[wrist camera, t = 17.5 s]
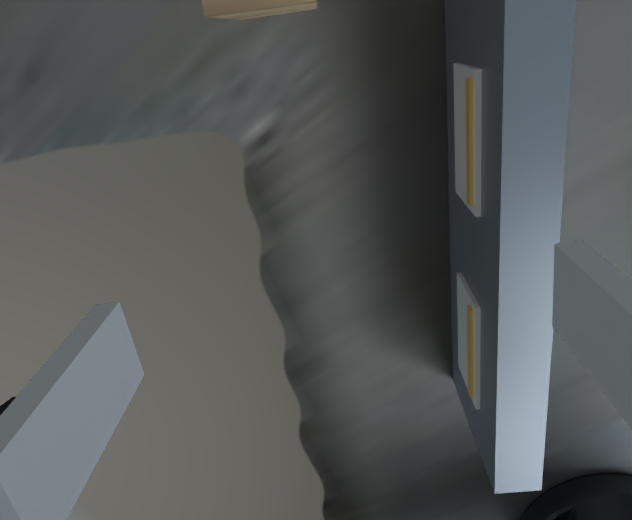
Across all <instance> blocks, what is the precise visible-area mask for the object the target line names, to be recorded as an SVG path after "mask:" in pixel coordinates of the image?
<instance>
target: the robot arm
mask: <svg viewBox="0 0 632 520" xmlns="http://www.w3.org/2000/svg"><path fill="white" fill-rule="evenodd" d="M552 326H553V328H554V329H555V330H556V331H557V333H558V334H559V335H560V337H561V338H562V339H563V340H564V342H565V343H566V344H567V346H568V347H569V348H570V350H571V351H572V352H573V353H574V355H575V356H576V357H577V359H578V360H579V361H580V362H581V364H582V365H583V366H584V368H585V369H586V370H587V371H588V373H589V374H590V375H591V377H592V378H593V379H594V380H595V382H596V383H597V384H598V386H599V387H600V388H601V389H602V391H603V392H604V393H605V395H606V396H607V397H608V398H609V400H610V401H611V402H612V404H613V405H614V406H615V407H616V409H617V410H618V411H619V413H620V414H621V415H622V416H623V418H624V419H625V420H626V422H627V423H628V424H629V426H630V427H631V428H632V280H630V279H629V278H628V277H627V276H625V275H624V274H623V273H622V272H621V271H619V270H618V269H617V268H616V267H614V266H613V265H612V264H611V263H609V262H608V261H607V260H606V259H604V258H603V257H602V256H601V255H599V254H598V253H597V252H596V251H594V250H593V249H592V248H591V247H589V246H588V245H587V244H586V243H584V242H583V241H582V240H580V241H573V242H565V243H558V244H554V277H553V313H552ZM143 377H144V372H143V369H142V366H141V363H140V360H139V357H138V354H137V352H136V349H135V346H134V343H133V340H132V337H131V334H130V331H129V329H128V325H127V323H126V320H125V317H124V314H123V311H122V308H121V305H120V302H114V303H106V304H98V305H95V306H94V307H93V309H92V310H91V311H90V312H89V313H88V314H87V316H86V317H85V318H84V319H83V320H82V321H81V323H80V324H79V325H78V326H77V327H76V328H75V329H74V331H73V332H72V333H71V334H70V335H69V336H68V338H67V339H66V340H65V341H64V342H63V343H62V345H61V346H60V347H59V348H58V349H57V350H56V352H55V353H54V354H53V355H52V356H51V357H50V359H49V360H48V361H47V362H46V363H45V364H44V365H43V367H42V368H41V369H40V370H39V371H38V372H37V374H36V375H35V376H34V377H33V378H32V379H31V381H30V382H29V383H28V384H27V385H26V386H25V388H24V389H23V390H22V391H21V392H20V393H19V395H18V396H17V397H12V398H11V399H10V400H8V401H7V402H5V403H4V404H3V405H1V406H0V520H67V518H68V516H69V514H70V512H71V511H72V509H73V507H74V505H75V503H76V501H77V500H78V498H79V496H80V494H81V492H82V490H83V488H84V486H85V484H86V483H87V481H88V479H89V477H90V475H91V474H92V471H93V470H94V468H95V466H96V464H97V462H98V460H99V459H100V457H101V455H102V453H103V451H104V449H105V448H106V446H107V444H108V442H109V440H110V438H111V436H112V435H113V433H114V431H115V429H116V427H117V425H118V423H119V422H120V420H121V418H122V416H123V414H124V412H125V410H126V409H127V406H128V405H129V403H130V401H131V399H132V397H133V395H134V394H135V392H136V390H137V388H138V386H139V384H140V383H141V381H142V379H143ZM521 520H632V476H627V475H620V474H599V475H591V476H586V477H581V478H577V479H574V480H571V481H568V482H565V483H563V484H561V485H559V486H557V487H555V488H553V489H551V490H549V491H548V492H546V493H545V494H543V495H542V496H540V497H539V498H538V499H537V500H536V501H534V502H533V503H532V504H531V505H530V507H529V508H528V509H527V510H526V511H525V513H524V514H523V516H522V518H521Z"/></svg>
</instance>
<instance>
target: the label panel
mask: <svg viewBox="0 0 632 520" xmlns="http://www.w3.org/2000/svg"><path fill="white" fill-rule="evenodd" d="M576 7H577V0H445V43H446V89H447V135H448V180H449V226H450V272H451V318H452V363H453V381H454V384H455V387H456V389H457V392H458V395H459V398H460V400H461V403H462V406H463V409H464V411H465V414H466V417H467V420H468V422H469V425H470V428H471V430H472V433H473V436H474V439H475V441H476V444H477V447H478V450H479V452H480V455H481V458H482V461H483V463H484V466H485V469H486V472H487V474H488V477H489V480H490V483H491V485H492V488H493V491H494V494H500V493H513V492H526V491H538V490H542V477H543V463H544V449H545V436H546V422H547V408H548V394H549V380H550V366H551V353H552V339H553V326H552V313H553V277H554V244H558V243H559V242H560V228H561V214H562V201H563V187H564V173H565V159H566V145H567V131H568V118H569V104H570V90H571V76H572V62H573V48H574V35H575V21H576Z"/></svg>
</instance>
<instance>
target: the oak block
mask: <svg viewBox="0 0 632 520" xmlns="http://www.w3.org/2000/svg"><path fill="white" fill-rule="evenodd" d="M201 2H202V7H203V12H204V17H211V18H225V19H239V20H241V19H248V18H256V17H263V16H270V15H277V14H285V13H292V12H299V11H306V10H314V9H318V7H317V0H201Z"/></svg>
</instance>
